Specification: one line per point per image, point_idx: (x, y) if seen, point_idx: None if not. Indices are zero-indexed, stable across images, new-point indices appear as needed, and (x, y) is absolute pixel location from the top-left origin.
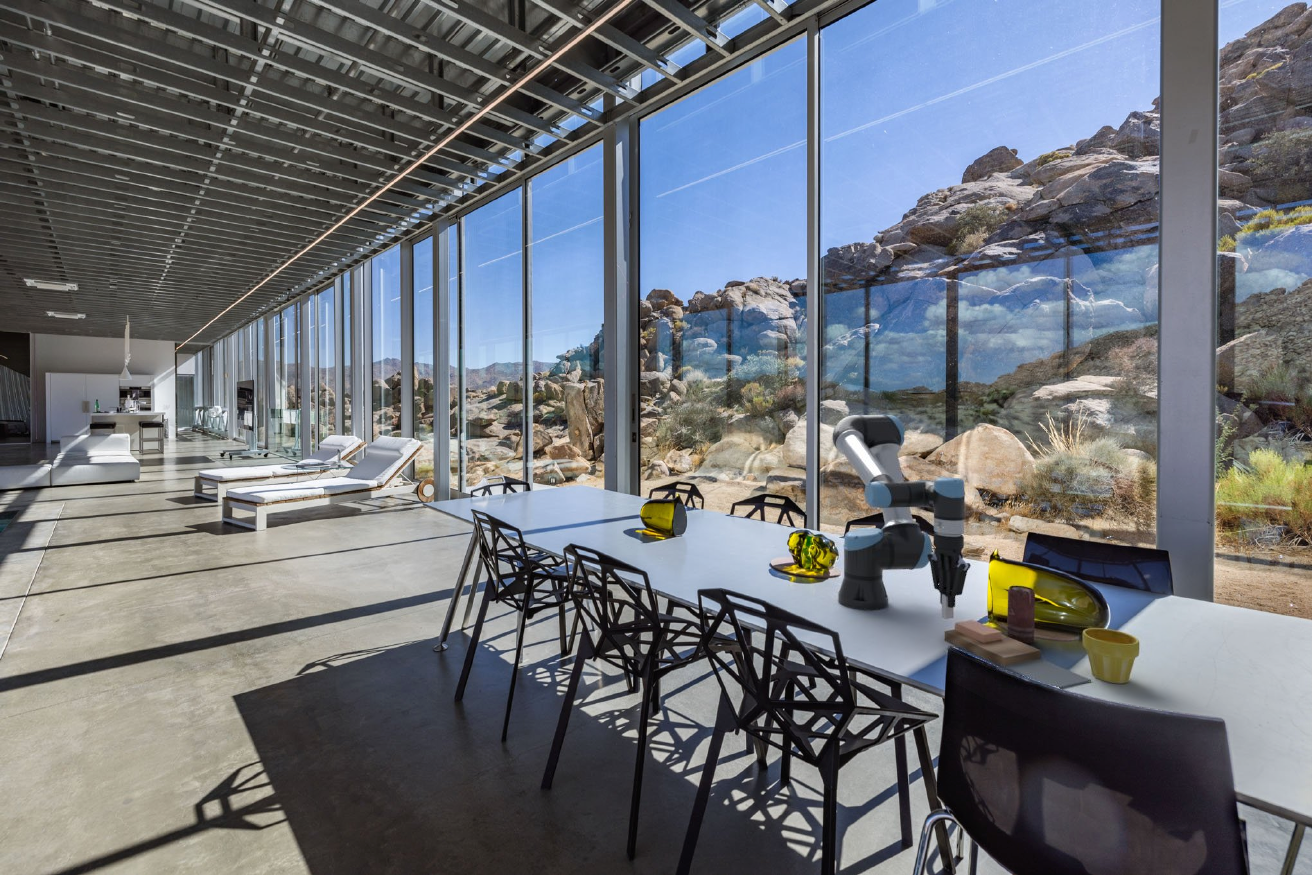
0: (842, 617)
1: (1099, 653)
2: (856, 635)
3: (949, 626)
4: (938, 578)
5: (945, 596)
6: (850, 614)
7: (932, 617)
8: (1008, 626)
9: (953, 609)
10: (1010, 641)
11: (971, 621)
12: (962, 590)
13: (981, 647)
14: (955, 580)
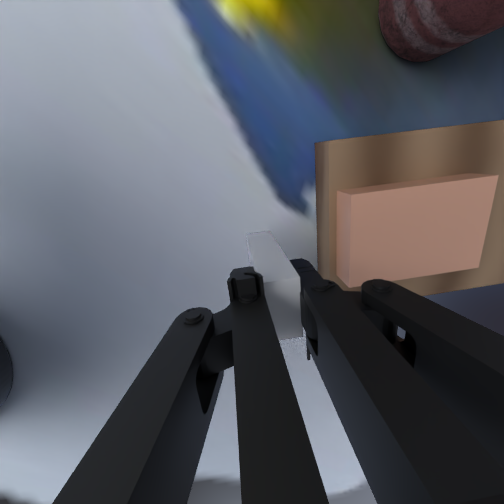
0: None
1: None
2: (224, 465)
3: (216, 198)
4: (197, 424)
5: (296, 333)
6: (59, 434)
7: (106, 196)
8: (438, 38)
9: (277, 242)
10: (496, 153)
11: (363, 211)
12: (422, 299)
13: (471, 287)
14: (494, 454)
